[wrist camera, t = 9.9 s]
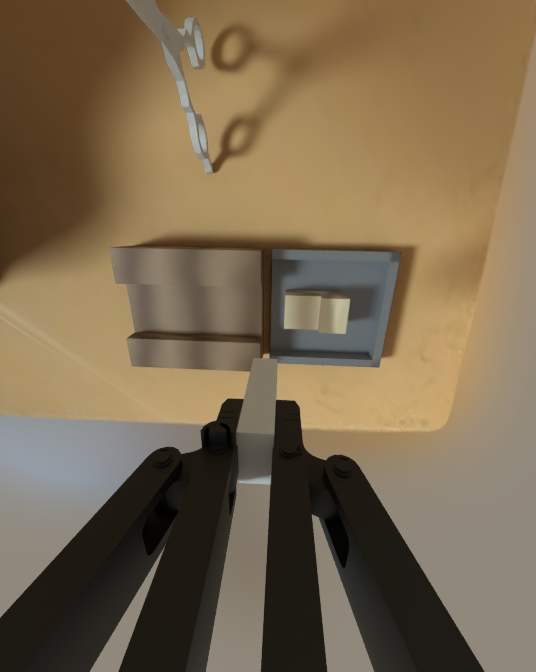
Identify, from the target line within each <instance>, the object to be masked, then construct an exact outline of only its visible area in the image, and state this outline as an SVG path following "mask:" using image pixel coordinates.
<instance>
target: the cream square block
mask: <svg viewBox="0 0 536 672" xmlns="http://www.w3.org/2000/svg"><path fill="white" fill-rule="evenodd" d="M320 303H321V295H320V294H319V292H318V291H302V290H285V310H284V329H308V330H318V324H319V314H320Z"/></svg>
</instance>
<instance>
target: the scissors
mask: <svg viewBox="0 0 536 672" xmlns="http://www.w3.org/2000/svg"><path fill="white" fill-rule="evenodd" d="M126 1H127V2H128V4H129V5H130V6H131V7H132V9H133V10H134V11H135V12H136V14H137V15H138V16H139V17H140V18H141V20H142V21H143V22H144V23H145V24H146V25H147V26H148V28H149V29H150V30H151V31H152V32H153V33H154V34H155V36H156V37H157V38H158V39H159V40H160V41H161V43H162V47H163V51H164V55H165V59H166V62H167V64H168V66H169V68H170V70H171V72H172V74H173V76H174V78H175V80H176V83H177V87H178V90H179V94H180V98H181V104H182V107H183V109H184V111H185V112H186V115H187V119H188V123H189V128H190V135H191V140H192V145H193V148H194V152H195V154H196V156H197V157H198V158H199V159H202V160H203V163H204V166H205V170H206V172H207V173H213V167H212V164H211V161H210V157H209V153H208V142H207V135H206V130H205V126H204V122H203V119H202V116H201V114H196V113H195V111H194V109H193V106H192V103H191V100H190V96H189V93H188V89H187V84H186V80H185V76H184V72H183V68H182V64H181V61H180V57H179V53H181V51H182V50H183V47H184V45H185V47H187V50H188V54H189V57H190V61H191V65H192V67H193V68H194V69H203V68H204V65H205V50H204V43H203V37H202V32H201V28H200V25H199V22H198V20H197V18H196V17H187V18H186V20H185V25H184V28H183V29H176V28H175V27H174V25H173V24H172V22H171V21H170V20H169V19H168V18H167V17H166V16H165V15H164V14H162V13H161V12H160V10H159V8H158V6H157V4H156V1H155V0H126ZM195 43H196V45H195ZM199 137H200V139H199Z"/></svg>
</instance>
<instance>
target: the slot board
mask: <svg viewBox="0 0 536 672" xmlns="http://www.w3.org/2000/svg"><path fill="white" fill-rule="evenodd" d="M109 251H110V257H111V262H112V267H113V272H114V277H115V282H116V284H127V289H128V295H129V300H130V306H131V312H132V317H133V323H134V328H135V333H134V334H132V335H131V336H129V337H128V338H126V339H127V344H128V349H129V354H130V360H131V365H132V366H136V367H159V368H182V369H204V370H227V371H251V367H252V363H253V358H263V329H264V248H227V247H179V246H123V247H110V248H109Z"/></svg>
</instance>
